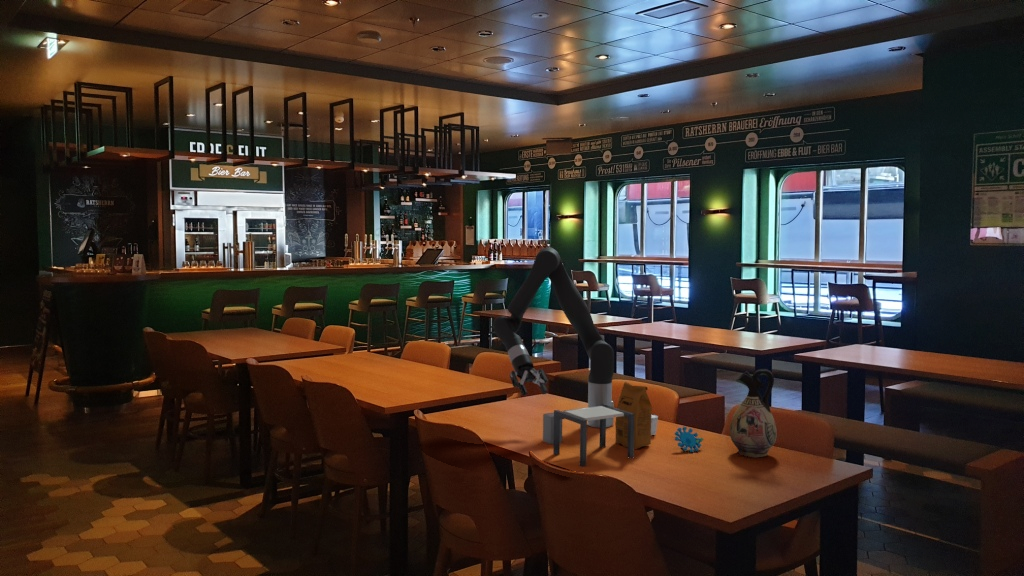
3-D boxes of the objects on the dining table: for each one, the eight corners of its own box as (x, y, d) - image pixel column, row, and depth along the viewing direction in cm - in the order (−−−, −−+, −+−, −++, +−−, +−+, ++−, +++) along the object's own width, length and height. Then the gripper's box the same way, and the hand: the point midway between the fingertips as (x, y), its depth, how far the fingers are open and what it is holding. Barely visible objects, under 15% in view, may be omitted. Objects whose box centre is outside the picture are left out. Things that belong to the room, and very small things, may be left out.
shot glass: (659, 433, 292) (660, 414, 291) (655, 437, 286) (655, 418, 285) (641, 431, 295) (642, 413, 294) (637, 435, 289) (637, 416, 288)
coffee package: (631, 439, 283) (632, 379, 281) (654, 446, 272) (656, 385, 271) (610, 442, 278) (611, 382, 276) (633, 450, 267) (634, 388, 266)
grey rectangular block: (554, 439, 281) (554, 412, 281) (562, 442, 277) (562, 415, 276) (542, 441, 279) (543, 413, 278) (550, 444, 275) (550, 416, 274)
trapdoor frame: (602, 446, 273) (603, 404, 272) (633, 458, 258) (634, 413, 257) (553, 453, 262) (553, 410, 261) (582, 466, 247) (583, 420, 247)
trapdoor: (600, 408, 269) (600, 405, 269) (623, 416, 258) (623, 412, 258) (562, 413, 261) (562, 410, 261) (584, 421, 250) (584, 417, 250)
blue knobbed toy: (680, 449, 263) (673, 424, 269) (672, 458, 267) (665, 433, 274) (708, 451, 266) (700, 426, 273) (700, 460, 270) (692, 435, 277)
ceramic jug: (726, 457, 260) (729, 369, 258) (731, 446, 274) (733, 362, 272) (780, 463, 253) (782, 373, 252) (782, 451, 268) (784, 366, 266)
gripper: (507, 354, 290) (523, 389, 281) (539, 352, 297) (555, 386, 288) (500, 366, 295) (515, 401, 286) (532, 363, 302) (547, 398, 293)
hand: (535, 394), depth 287 cm, fingers open, 8 cm apart
